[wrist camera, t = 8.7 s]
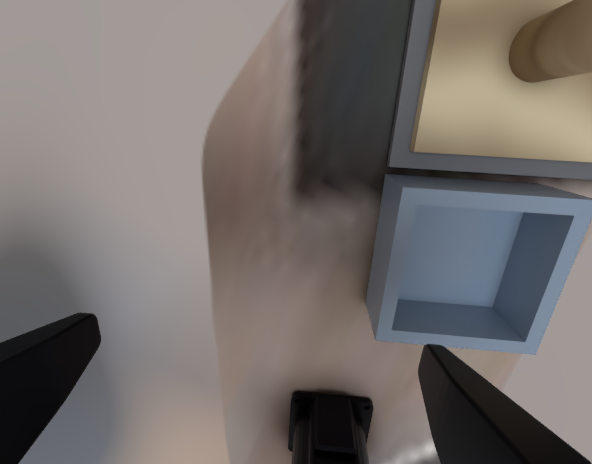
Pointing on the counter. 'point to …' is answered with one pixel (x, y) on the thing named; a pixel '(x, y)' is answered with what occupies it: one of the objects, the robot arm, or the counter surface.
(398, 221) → the dish
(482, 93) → the lid
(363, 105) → the counter surface
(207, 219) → the counter surface
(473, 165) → the mat
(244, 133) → the counter surface
